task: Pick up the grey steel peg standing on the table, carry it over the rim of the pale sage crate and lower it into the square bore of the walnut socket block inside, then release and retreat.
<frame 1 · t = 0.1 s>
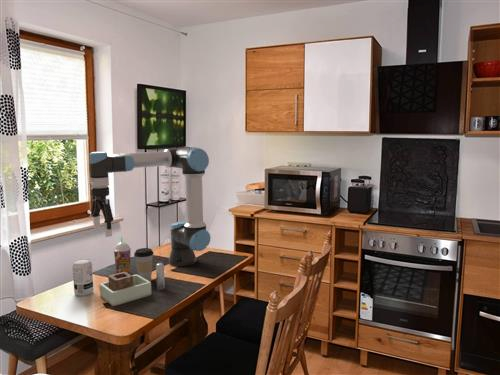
hand: (102, 233, 187), 28 cm above the table, fingers open, 13 cm apart
crate: (125, 295, 187), on the table
coffee cup: (145, 279, 207), on the table
supplement can: (84, 293, 191), on the table
smoothie: (123, 274, 214), on the table
steel peg: (160, 288, 195), on the table
socket block: (121, 296, 186), resting on crate
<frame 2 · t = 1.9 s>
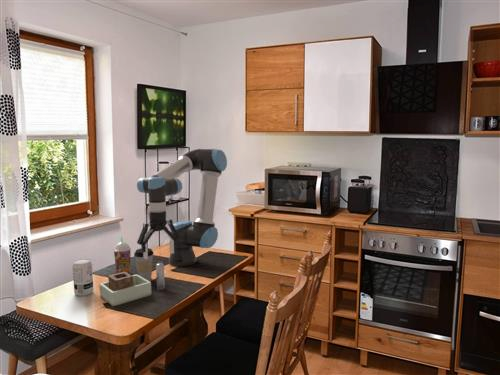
hand: (159, 255, 193), 16 cm above the table, fingers open, 13 cm apart
nothing on the table moved.
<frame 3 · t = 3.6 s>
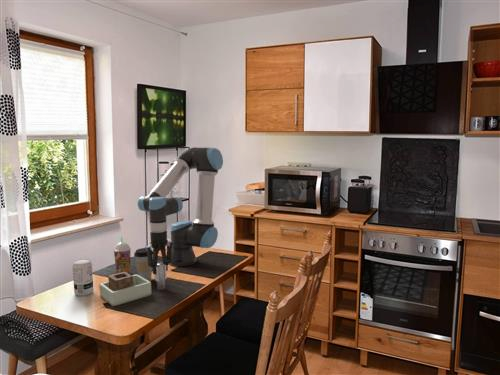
hand: (160, 279, 195), 5 cm above the table, fingers closed on steel peg, 3 cm apart
steel peg: (161, 288, 195), on the table, touching gripper
everything else where it was.
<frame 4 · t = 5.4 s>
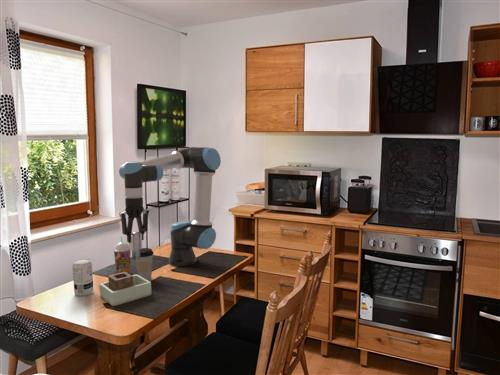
hand: (135, 248, 186), 21 cm above the table, fingers closed on steel peg, 3 cm apart
steel peg: (136, 258, 187), point 17 cm above the table, touching gripper
everything else where it was.
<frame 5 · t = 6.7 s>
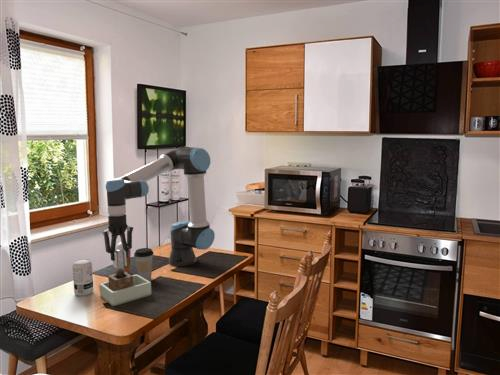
hand: (119, 266, 184), 14 cm above the table, fingers closed on steel peg, 3 cm apart
steel peg: (120, 276, 184), point 10 cm above the table, touching gripper
everything else where it was.
when the fingers open (12 cm above the table, at t = 7.4 s): steel peg drops 1 cm, resting on socket block.
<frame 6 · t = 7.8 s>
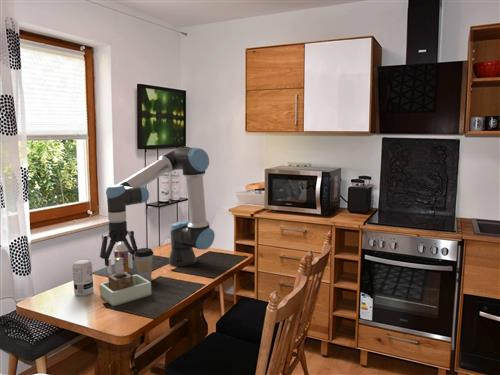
hand: (120, 270, 184), 13 cm above the table, fingers open, 9 cm apart
steel peg: (120, 284, 185), point 6 cm above the table, touching socket block
everything else where it was.
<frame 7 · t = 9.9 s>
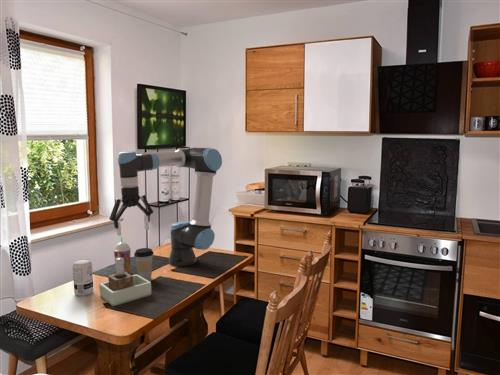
hand: (133, 232, 189), 28 cm above the table, fingers open, 13 cm apart
nothing on the table moved.
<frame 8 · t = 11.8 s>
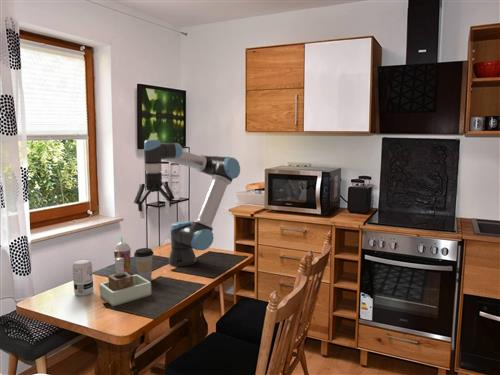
hand: (155, 215, 201), 33 cm above the table, fingers open, 13 cm apart
nothing on the table moved.
at the end: steel peg 0.1 cm off-centre on the socket block, point 5.8 cm above the socket block's base; steel peg tilted 1°; the gripper is holding nothing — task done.
